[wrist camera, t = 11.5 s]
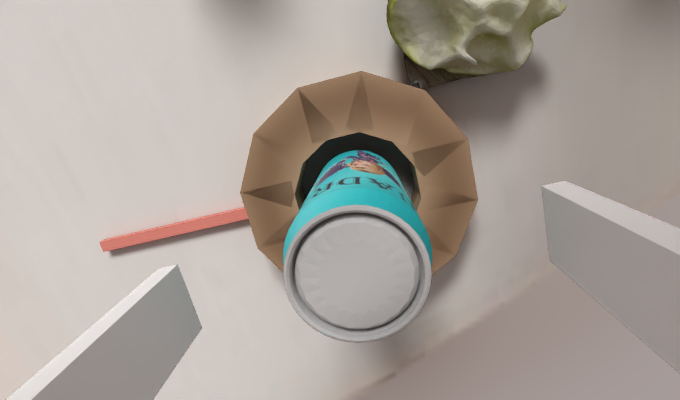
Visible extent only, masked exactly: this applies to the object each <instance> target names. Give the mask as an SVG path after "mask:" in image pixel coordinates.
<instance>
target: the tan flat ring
mask: <svg viewBox="0 0 680 400" xmlns="http://www.w3.org/2000/svg"><path fill="white" fill-rule="evenodd" d="M358 132H361V133H364V134H368V135H371V136H375V137H378V138H381V139H385V140H388V141H391V142H393V143H394V144H395V145H396V146H397V147H398V149H399V150H400V151H401V152H402V153H403V154H404V155H405V156H406V157H407V158H408V159H409V163H410V167H411V172H412V177H413V182H414V187H415V189H414V192H413V195H412V197H411V202H412V204H413V206H414V208H415V209H416V211H417V213H418V215H419V217H420V219H421V221H422V223H423V224H424V226H425V228H426V231H427V233H428V236H429V238H430V242H431V247H432V258H433V261H432V270H431V273H432V274H433V273H435V272H436V271H437V270H438V269H440V268H441V267H442V266H443V265H445V264H446V263H447V262H448V261H450V260H451V259H452V258H453V257H455V256H456V254H457V251H458V249H459V246H460V244H461V241H462V239H463V236H464V234H465V231H466V229H467V226H468V224H469V221H470V219H471V216H472V214H473V211H474V209H475V206H476V204H477V201H478V197H477V191H476V185H475V179H474V173H473V167H472V161H471V155H470V148H469V142H468V138H467V137H466V136H465V135H464V134H463V133H462V132H461V130H460V129H459V128H458V127H457V126H456V125H455V124H454V122H453V121H452V120H451V119H450V118H449V117H448V116H447V114H446V113H445V112H444V111H443V110H442V109H441V108H440V107H439V105H438V104H437V103H436V102H435V101H434V100H433V99H432V97H431V96H430V95H429V94H428V93H427V92H426V91H425V90H423V89H419V88H416V87H413V86H409V85H406V84H403V83H399V82H396V81H393V80H390V79H386V78H383V77H380V76H376V75H373V74H370V73H366V72H363V71H362V72H361V71H360V72H356V73H352V74H348V75H345V76H341V77H337V78H333V79H329V80H326V81H322V82H318V83H314V84H310V85H307V86H303V87H299V88H297V89H296V90H295V91H294V92H293V93H292V94H291V95H290V96H289V97H288V98H287V99H286V100H285V101H284V103H283V104H282V105H281V106H280V107H279V108H278V109H277V110H276V111H275V112H274V113H273V114H272V115H271V116H270V117H269V118H268V119H267V120H266V121H265V122H264V123H263V124H262V125H261V126H260V127H259V129H258V130H257V131H256V132H255V133H254V134H253V138H252V143H251V147H250V151H249V156H248V160H247V165H246V169H245V174H244V178H243V182H242V187H241V191H240V194H241V197H242V200H243V203H244V206H245V209H246V213H247V216H248V219H249V222H250V225H251V228H252V231H253V235H254V238H255V241H256V244H257V247H258V249H259V250H260V251H261V252H262V253H263V254H265V255H266V256H267V257H268V258H269V259H270V260H271V261H272V262H273V263H274V264H275V265H276V266H277V267H278V268H279V269H280V270H281V271H282V272H284V265H283V248H284V243H285V238H286V236H287V233H288V230H289V228H290V226H291V225H292V223H293V221H294V219H295V217H296V216H297V214H298V212H299V210H300V209H301V207H302V205H303V203H304V201H305V196H304V193H303V189H302V185H301V184H302V180H303V177H304V173H305V169H306V165H307V162H308V158H309V157H310V156H311V155H312V154H313V153H314V152H315V151H316V150H317V149H318V148H319V147H320V146H321V145H322V144H323V143H324V142H325V141H326V140H329V139H333V138H337V137H341V136H345V135H350V134H354V133H358Z"/></svg>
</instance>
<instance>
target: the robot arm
mask: <svg viewBox="0 0 680 400" xmlns="http://www.w3.org/2000/svg"><path fill="white" fill-rule="evenodd" d="M541 188H542V197H543V206H544V214H545V223H546V232H547V241H548V250H549V258H550V261H551V262H552V263H553V264H554V265H556V266H557V267H558V268H559V269H560V270H561V271H562V272H564V273H565V274H566V275H567V276H568V277H569V278H571V279H572V280H573V281H574V282H575V283H576V284H577V285H579V286H580V287H581V288H582V289H583V290H584V291H585V292H587V293H588V294H589V295H590V296H591V297H592V298H594V299H595V300H596V301H597V302H598V303H599V304H600V305H602V306H603V307H604V308H605V309H606V310H607V311H608V312H610V313H611V314H612V315H613V316H614V317H615V318H616V319H617V320H619V321H620V322H621V323H622V324H623V325H624V326H626V327H627V328H628V329H629V330H630V331H631V332H632V333H634V334H635V335H636V336H637V337H638V338H639V339H640V340H642V341H643V342H644V343H645V344H646V345H647V346H649V347H650V348H651V349H652V350H653V351H654V352H655V353H656V354H658V355H659V356H660V357H661V358H662V359H663V360H665V361H666V362H667V363H668V364H669V365H670V366H671V367H673V368H674V369H675V370H676V371H677V372H678V373H680V228H677V227H675V226H673V225H670V224H668V223H666V222H663V221H661V220H658V219H656V218H654V217H651V216H649V215H646V214H644V213H642V212H639V211H637V210H634V209H632V208H630V207H627V206H625V205H622V204H620V203H618V202H615V201H613V200H610V199H608V198H606V197H603V196H601V195H598V194H596V193H594V192H591V191H589V190H586V189H584V188H582V187H579V186H577V185H574V184H572V183H570V182H567V181H561V182H557V183H552V184H548V185H543V186H541ZM201 329H202V326H201V324H200V321H199V318H198V316H197V313H196V311H195V308H194V305H193V303H192V300H191V298H190V295H189V293H188V290H187V287H186V285H185V282H184V280H183V277H182V275H181V272H180V269H179V267H178V264H177V265H173V266H168V267H164V268H159V269H158V270H156V271H155V272H154V273H153V274H152V275H151V276H149V277H148V278H147V279H146V280H145V281H144V282H142V283H141V284H140V285H139V286H138V287H137V288H135V289H134V290H133V291H132V292H131V293H130V294H128V295H127V296H126V297H125V298H124V299H123V300H121V301H120V302H119V303H118V304H117V305H116V306H114V307H113V308H112V309H111V310H110V311H109V312H107V313H106V314H105V315H104V316H103V317H102V318H100V319H99V320H98V321H97V322H96V323H95V324H93V325H92V326H91V327H90V328H89V329H88V330H86V331H85V332H84V333H83V334H82V335H81V336H79V337H78V338H77V339H76V340H75V341H74V342H72V343H71V344H70V345H69V346H68V347H67V348H65V349H64V350H63V351H62V352H61V353H60V354H58V355H57V356H56V357H55V358H54V359H53V360H51V361H50V362H49V363H48V364H47V365H46V366H44V367H43V368H42V369H41V370H40V371H39V372H37V373H36V374H35V375H34V376H33V377H32V378H30V379H29V380H28V381H27V382H26V383H25V384H23V385H22V386H21V387H20V388H19V389H18V390H17V391H15V392H14V393H13V394H12V395H11V396H10V397H8V398H7V399H6V400H153V399H154V398H155V396H156V395H157V393H158V392H159V390H160V389H161V387H162V386H163V385H164V383H165V382H166V380H167V379H168V377H169V376H170V374H171V373H172V371H173V370H174V368H175V367H176V365H177V364H178V363H179V361H180V360H181V358H182V357H183V355H184V354H185V352H186V351H187V349H188V348H189V346H190V345H191V343H192V342H193V341H194V339H195V338H196V336H197V335H198V333H199V332H200V330H201Z"/></svg>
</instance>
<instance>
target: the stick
mask: <svg viewBox="0 0 680 400" xmlns="http://www.w3.org/2000/svg"><path fill="white" fill-rule="evenodd" d="M245 219H248V216H247V213H246V209H245V207H243V208H239V209H234V210H230V211H226V212H222V213H217V214H213V215H209V216H204V217H200V218H196V219H191V220H187V221H183V222H178V223H174V224H170V225H165V226H161V227H157V228H152V229H148V230H144V231H140V232H135V233H131V234H127V235H122V236H118V237H114V238H109V239H105V240H103V241H101V242H100V245H101V247H102V249H103V252H105V251H109V250H114V249H118V248H122V247H127V246H131V245H135V244H140V243H144V242H149V241H153V240H157V239H162V238H166V237H171V236H175V235H179V234H184V233H188V232H192V231H197V230H201V229H206V228H210V227H214V226H219V225H223V224H228V223H232V222H236V221H241V220H245Z"/></svg>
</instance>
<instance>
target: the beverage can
mask: <svg viewBox="0 0 680 400" xmlns="http://www.w3.org/2000/svg"><path fill="white" fill-rule="evenodd" d="M432 261H433V258H432V247H431V242H430V238H429V236H428V233H427V231H426V228H425V226H424V224H423V223H422V221H421V219H420V217H419V215H418V213H417V211H416V209H415V208H414V206H413V204H412V202H411V200H410V198H409V196H408V194H407V193H406V191H405V189H404V187H403V185H402V183H401V181H400V179H399V178H398V176H397V174H396V172H395V170H394V169H393V167H392V166H391V165H390V164H389V163H388V161H386V160H385V159H384V158H383V157H381V156H379V155H378V154H375V153H373V152H370V151H365V150H351V151H347V152H343V153H341V154H339V155H337V156H336V157H334V158H332V159H331V160H330V161H329V162H328V163H327V164H326V165H325V167H324V168H323V169H322V171H321V173H320V175H319V176H318V178H317V180H316V182H315V184H314V185H313V187H312V189H311V191H310V192H309V194H308V196H307V198H306V200H305V201H304V203H303V205H302V207H301V209H300V210H299V212H298V214H297V216H296V217H295V219H294V221H293V223H292V225H291V226H290V228H289V230H288V233H287V236H286V238H285V243H284V248H283V265H284V272H283V277H284V284H285V290H286V292H287V295H288V298H289V301H290V302H291V304H292V306H293V308H294V309H295V311H296V312H297V313H298V315H299V316H300V317H301V318H302V319H303V320H304V321H305V322H306V323H307V324H308V325H309V326H311V327H312V328H313V329H315V330H316V331H318V332H320V333H322V334H324V335H325V336H328V337H331V338H333V339H336V340H341V341H346V342H357V343H360V342H371V341H376V340H380V339H383V338H386V337H389V336H391V335H393V334H395V333H397V332H399V331H400V330H402V329H403V328H404V327H406V326H407V325H408V324H409V323H410V322H411V321H412V320H413V319H414V318H415V317H416V316H417V315H418V313H419V312H420V311H421V309H422V308H423V306H424V304H425V302H426V300H427V297H428V294H429V290H430V286H431V277H432V273H431V270H432Z"/></svg>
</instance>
